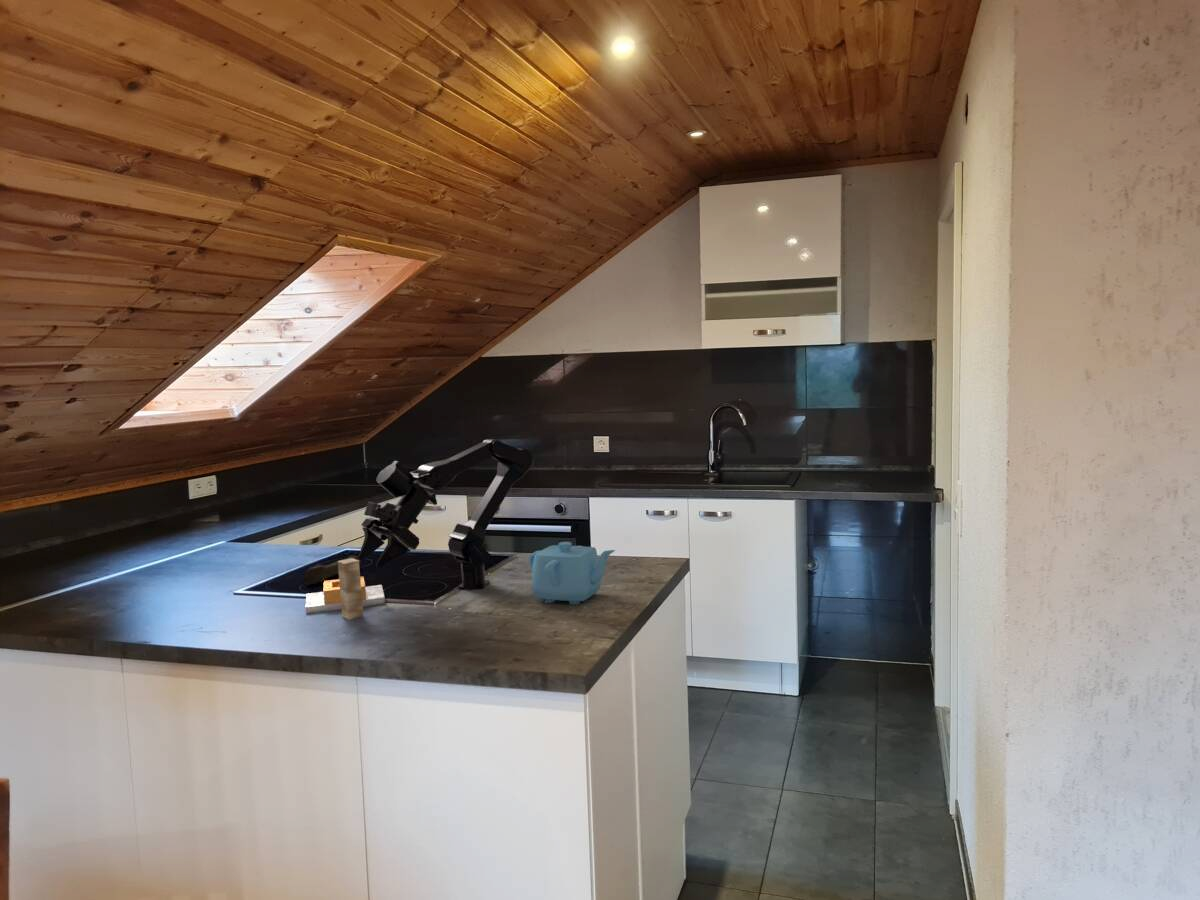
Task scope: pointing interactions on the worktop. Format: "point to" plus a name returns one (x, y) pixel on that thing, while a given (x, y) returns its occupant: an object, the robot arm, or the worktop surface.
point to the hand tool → (323, 572)
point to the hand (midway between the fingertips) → (368, 563)
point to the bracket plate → (320, 606)
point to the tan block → (350, 588)
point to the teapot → (567, 572)
